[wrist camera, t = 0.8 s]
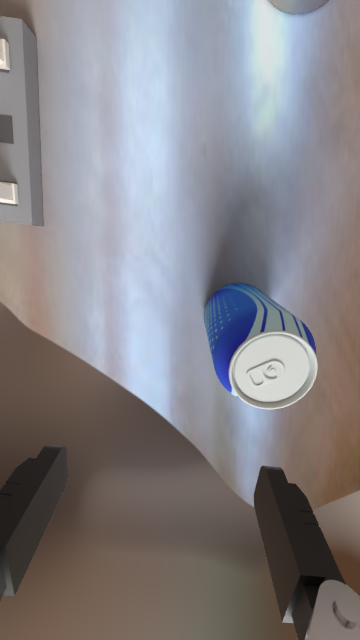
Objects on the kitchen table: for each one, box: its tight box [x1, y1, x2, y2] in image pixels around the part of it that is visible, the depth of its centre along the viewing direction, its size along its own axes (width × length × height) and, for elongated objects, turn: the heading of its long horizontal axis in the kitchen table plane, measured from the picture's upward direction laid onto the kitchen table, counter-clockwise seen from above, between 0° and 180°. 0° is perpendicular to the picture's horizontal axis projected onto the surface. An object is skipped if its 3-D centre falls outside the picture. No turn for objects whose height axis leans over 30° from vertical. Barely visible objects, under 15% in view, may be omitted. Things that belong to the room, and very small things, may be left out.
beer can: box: [204, 283, 318, 409], centre depth 27 cm, size 8×8×16 cm
